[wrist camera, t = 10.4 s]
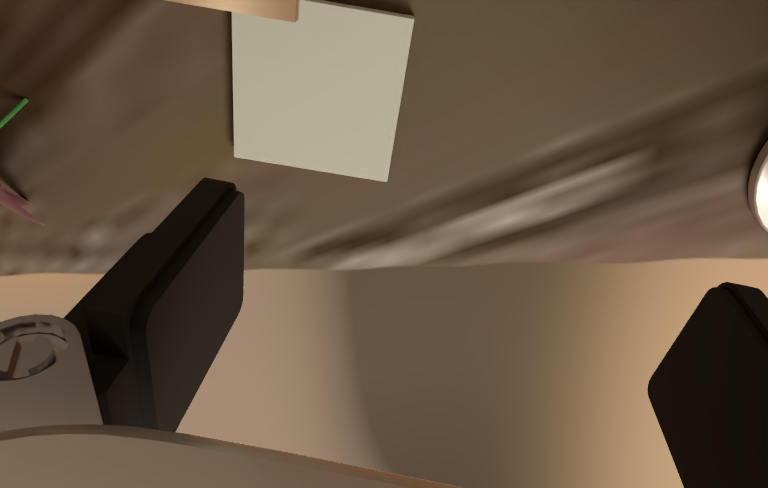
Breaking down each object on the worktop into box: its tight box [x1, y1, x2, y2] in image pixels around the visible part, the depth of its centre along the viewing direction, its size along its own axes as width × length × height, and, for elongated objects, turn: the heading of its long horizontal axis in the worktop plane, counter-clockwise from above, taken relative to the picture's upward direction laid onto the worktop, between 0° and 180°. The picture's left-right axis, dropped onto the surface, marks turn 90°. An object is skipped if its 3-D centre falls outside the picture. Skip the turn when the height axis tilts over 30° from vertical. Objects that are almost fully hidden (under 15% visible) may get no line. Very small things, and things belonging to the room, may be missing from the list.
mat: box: [232, 0, 415, 182], centre depth 34 cm, size 11×11×1 cm
